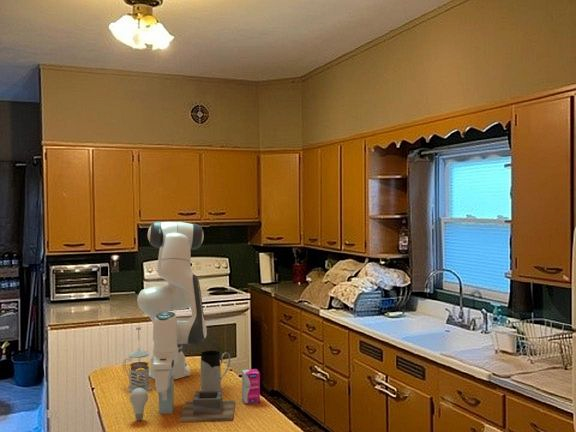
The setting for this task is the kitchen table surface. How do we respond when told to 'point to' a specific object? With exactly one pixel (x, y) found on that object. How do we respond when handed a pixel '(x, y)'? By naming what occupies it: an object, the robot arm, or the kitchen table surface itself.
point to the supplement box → (250, 386)
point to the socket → (207, 408)
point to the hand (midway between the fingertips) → (166, 397)
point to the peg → (167, 405)
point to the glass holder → (211, 370)
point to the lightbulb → (138, 401)
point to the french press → (140, 382)
